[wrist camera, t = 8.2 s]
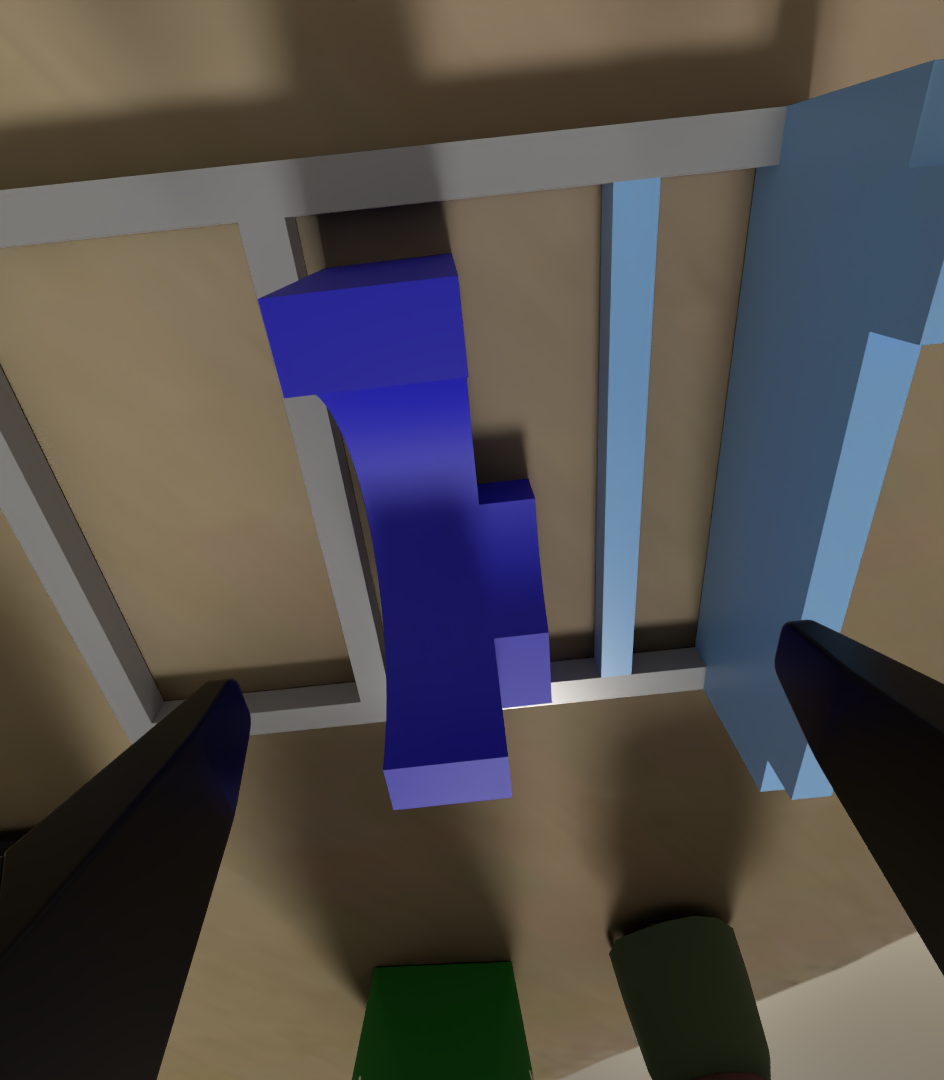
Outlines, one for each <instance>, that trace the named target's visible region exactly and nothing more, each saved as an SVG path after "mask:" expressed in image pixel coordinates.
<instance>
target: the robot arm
mask: <svg viewBox="0 0 944 1080" xmlns="http://www.w3.org/2000/svg"><path fill="white" fill-rule="evenodd" d="M774 666H775V671H776V674H777V677H778V679H779V681H780V683H781V686H782V688H783V690H784V692H785V694H786V697H787V699H788V701H789V703H790V705H791V707H792V710H793V712H794V714H795V716H796V718H797V721H798V723H799V725H800V727H801V729H802V732H803V734H804V736H805V738H806V740H807V742H808V745H809V747H810V749H811V751H812V753H813V755H814V757H815V759H816V760H817V762H818V764H819V766H820V768H821V769H822V771H823V773H824V775H825V776H826V778H827V780H828V781H829V783H830V785H831V786H832V788H833V790H834V791H835V793H836V795H837V797H838V798H839V800H840V802H841V803H842V805H843V807H844V808H845V810H846V812H847V813H848V815H849V817H850V818H851V820H852V822H853V824H854V825H855V827H856V829H857V830H858V832H859V834H860V835H861V837H862V839H863V840H864V842H865V844H866V845H867V847H868V849H869V851H870V852H871V854H872V856H873V857H874V859H875V861H876V862H877V864H878V866H879V867H880V869H881V871H882V872H883V874H884V876H885V878H886V879H887V881H888V883H889V884H890V886H891V888H892V889H893V891H894V893H895V894H896V896H897V898H898V899H899V901H900V903H901V905H902V906H903V908H904V910H905V911H906V913H907V915H908V916H909V918H910V920H911V921H912V923H913V925H914V926H915V928H916V930H917V932H918V933H919V935H920V937H921V938H922V940H923V942H924V943H925V945H926V947H927V948H928V950H929V952H930V953H931V955H932V957H933V958H934V960H935V962H936V963H937V965H938V967H939V969H940V970H941V972H942V974H943V975H944V684H943V683H941V682H938V681H936V680H934V679H932V678H930V677H928V676H926V675H924V674H922V673H920V672H918V671H916V670H914V669H912V668H910V667H908V666H906V665H904V664H902V663H900V662H898V661H896V660H893V659H891V658H889V657H887V656H885V655H883V654H881V653H879V652H877V651H875V650H873V649H871V648H869V647H867V646H865V645H863V644H861V643H859V642H857V641H855V640H853V639H850V638H848V637H846V636H844V635H842V634H840V633H838V632H836V631H834V630H832V629H830V628H828V627H826V626H824V625H822V624H820V623H818V622H816V621H813V620H797V621H789V622H786V623H785V624H784V625H783V626H782V628H781V632H780V636H779V641H778V645H777V650H776V654H775V659H774ZM250 730H251V715H250V711H249V709H248V706H247V704H246V701H245V699H244V696H243V693H242V691H241V688H240V686H239V684H238V682H237V681H236V680H235V679H234V678H222V679H213V680H209V681H207V682H206V683H204V684H203V685H202V686H201V687H200V688H198V689H197V690H196V691H195V692H194V693H193V694H191V695H190V696H189V697H188V698H187V699H185V700H184V701H183V702H182V703H181V704H180V705H178V706H177V707H176V708H175V709H174V710H172V711H171V712H170V713H169V714H168V715H167V716H165V717H164V718H163V719H162V720H161V721H159V722H158V723H157V724H156V725H155V726H154V727H152V728H151V729H150V730H149V731H148V732H146V733H145V734H144V735H143V736H142V737H140V738H139V739H138V740H137V741H136V742H135V743H133V744H132V745H131V746H130V747H129V748H127V749H126V750H125V751H124V752H123V753H122V754H120V755H119V756H118V757H117V758H116V759H114V760H113V761H112V762H111V763H110V764H109V765H107V766H106V767H105V768H104V769H103V770H101V771H100V772H99V773H98V774H97V775H96V776H94V777H93V778H92V779H91V780H90V781H88V782H87V783H86V784H85V785H84V786H83V787H81V788H80V789H79V790H78V791H77V792H75V793H74V794H73V795H72V796H71V797H69V798H68V799H67V800H66V801H65V802H64V803H62V804H61V805H60V806H59V807H58V808H56V809H55V810H54V811H53V812H52V813H51V814H49V815H48V816H47V817H46V818H45V819H43V820H42V821H41V822H40V823H39V824H37V825H36V826H35V827H34V828H33V829H32V830H27V831H17V832H7V833H0V1080H157V1076H158V1073H159V1070H160V1066H161V1063H162V1060H163V1056H164V1053H165V1049H166V1046H167V1043H168V1039H169V1036H170V1033H171V1029H172V1026H173V1023H174V1019H175V1016H176V1012H177V1009H178V1006H179V1002H180V999H181V996H182V992H183V989H184V985H185V982H186V979H187V975H188V972H189V969H190V965H191V962H192V959H193V955H194V952H195V948H196V945H197V942H198V938H199V935H200V932H201V928H202V925H203V921H204V918H205V915H206V911H207V908H208V905H209V901H210V898H211V895H212V891H213V888H214V884H215V881H216V878H217V874H218V871H219V868H220V864H221V861H222V857H223V854H224V851H225V847H226V844H227V841H228V837H229V834H230V830H231V827H232V823H233V819H234V816H235V811H236V806H237V801H238V796H239V790H240V785H241V779H242V774H243V768H244V763H245V757H246V752H247V746H248V741H249V735H250Z"/></svg>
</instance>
